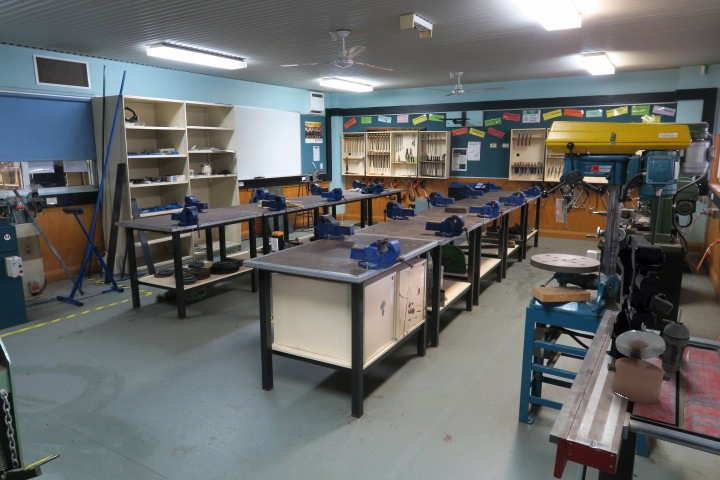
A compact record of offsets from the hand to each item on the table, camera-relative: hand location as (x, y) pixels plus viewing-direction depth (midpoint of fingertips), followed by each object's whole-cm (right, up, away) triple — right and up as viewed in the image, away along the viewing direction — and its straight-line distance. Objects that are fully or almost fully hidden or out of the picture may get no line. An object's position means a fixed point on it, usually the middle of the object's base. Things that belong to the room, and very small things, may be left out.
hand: (633, 334), depth 146 cm
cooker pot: (-5, -15, -9) cm, 18 cm away
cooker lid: (-3, -2, -9) cm, 10 cm away
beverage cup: (+16, -13, +7) cm, 21 cm away
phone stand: (+22, -10, +18) cm, 30 cm away
